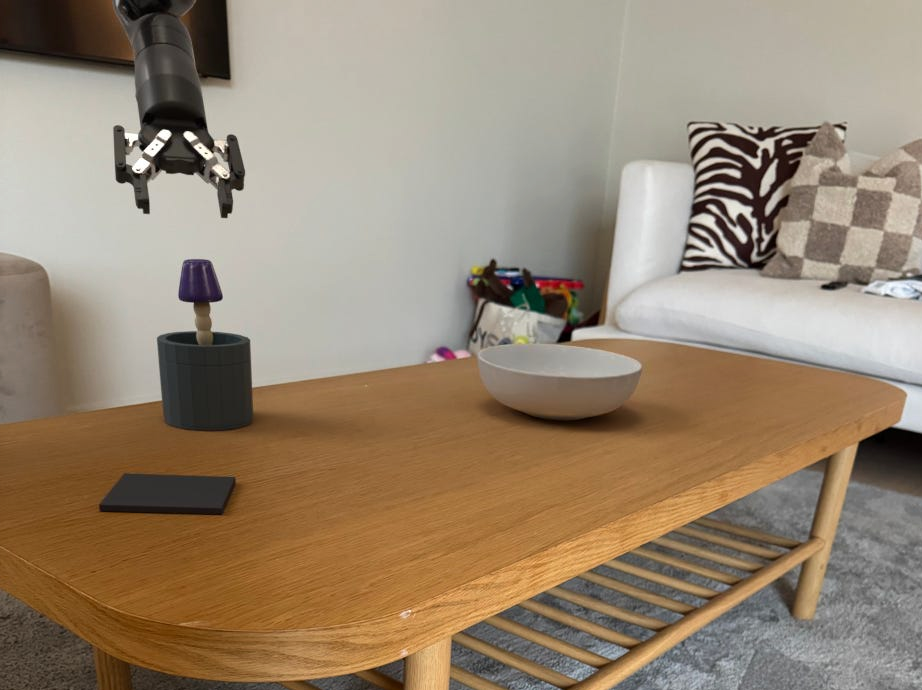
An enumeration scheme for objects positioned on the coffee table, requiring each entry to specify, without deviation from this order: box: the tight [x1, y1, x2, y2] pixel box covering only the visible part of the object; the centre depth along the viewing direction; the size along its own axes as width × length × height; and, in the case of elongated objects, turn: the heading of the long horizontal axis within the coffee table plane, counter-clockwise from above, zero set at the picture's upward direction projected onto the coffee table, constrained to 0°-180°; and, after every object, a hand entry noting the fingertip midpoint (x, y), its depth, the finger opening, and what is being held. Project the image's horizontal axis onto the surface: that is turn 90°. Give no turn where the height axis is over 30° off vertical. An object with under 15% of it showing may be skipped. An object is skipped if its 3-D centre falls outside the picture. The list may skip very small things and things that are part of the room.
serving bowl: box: [477, 343, 643, 421], centre depth 122 cm, size 21×21×7 cm
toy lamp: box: [177, 258, 224, 345], centre depth 105 cm, size 5×5×17 cm
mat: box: [98, 472, 237, 515], centre depth 84 cm, size 10×9×1 cm
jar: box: [156, 330, 254, 432], centre depth 107 cm, size 10×10×9 cm
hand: (186, 211), depth 108 cm, fingers open, 8 cm apart
